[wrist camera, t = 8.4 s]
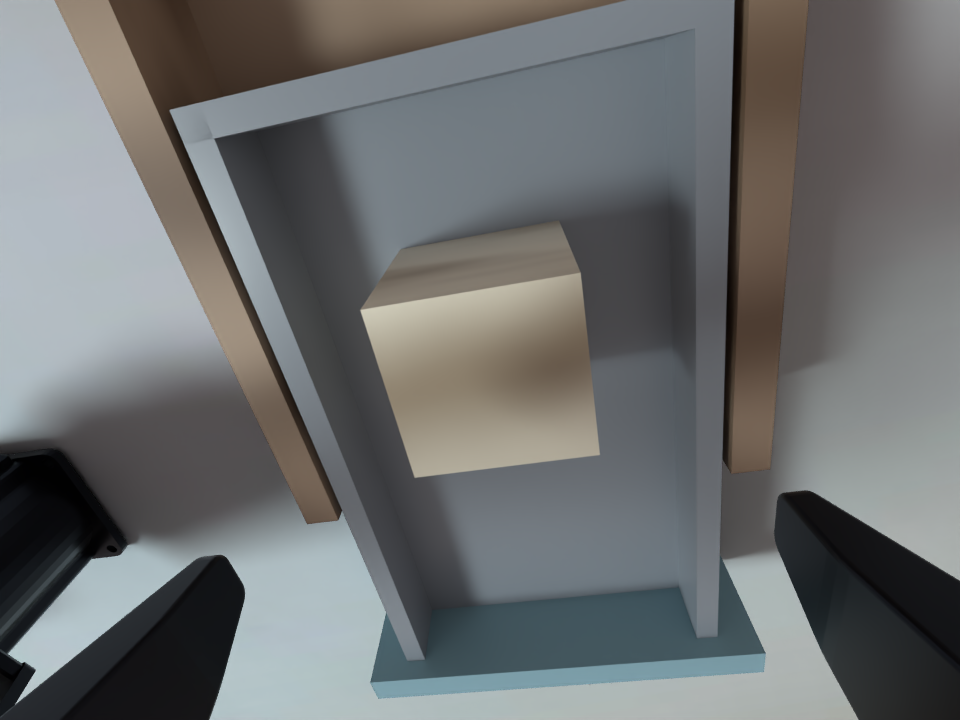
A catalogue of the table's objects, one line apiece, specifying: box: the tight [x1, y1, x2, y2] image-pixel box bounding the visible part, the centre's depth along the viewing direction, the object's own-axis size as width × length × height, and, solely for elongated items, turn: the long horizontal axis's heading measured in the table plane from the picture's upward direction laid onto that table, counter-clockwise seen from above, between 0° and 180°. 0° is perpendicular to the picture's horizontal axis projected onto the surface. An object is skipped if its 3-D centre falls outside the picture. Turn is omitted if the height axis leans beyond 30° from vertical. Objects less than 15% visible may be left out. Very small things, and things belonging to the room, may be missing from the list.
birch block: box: [360, 220, 600, 478], centre depth 15 cm, size 5×5×5 cm
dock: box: [55, 0, 809, 524], centre depth 14 cm, size 23×16×4 cm
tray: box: [170, 0, 766, 699], centre depth 18 cm, size 23×16×5 cm
